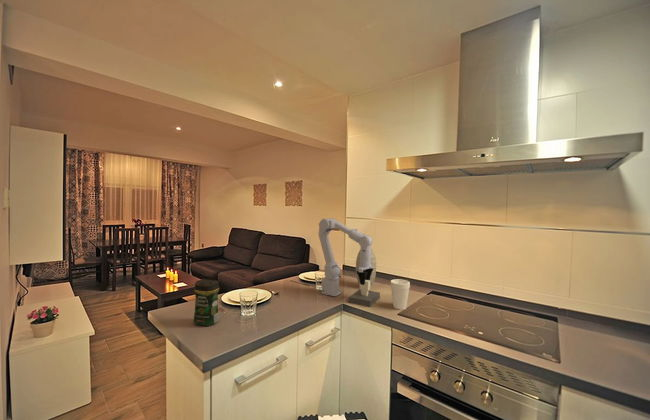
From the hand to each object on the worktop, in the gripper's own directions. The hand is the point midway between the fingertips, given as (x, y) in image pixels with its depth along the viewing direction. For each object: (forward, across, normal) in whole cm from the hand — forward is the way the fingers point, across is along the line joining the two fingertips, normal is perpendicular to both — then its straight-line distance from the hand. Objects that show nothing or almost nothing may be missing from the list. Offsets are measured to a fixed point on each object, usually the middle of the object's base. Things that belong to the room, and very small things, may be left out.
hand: (364, 282), depth 146 cm
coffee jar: (+10, -63, +48) cm, 80 cm away
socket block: (+10, 0, 0) cm, 10 cm away
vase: (+10, +22, +8) cm, 25 cm away
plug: (+7, 0, 0) cm, 7 cm away
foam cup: (+10, 0, -19) cm, 21 cm away
